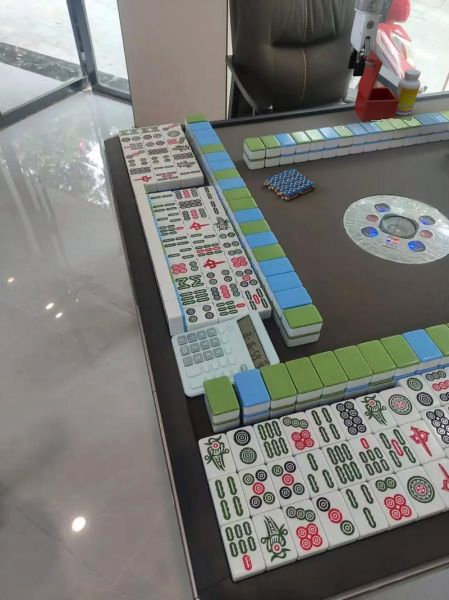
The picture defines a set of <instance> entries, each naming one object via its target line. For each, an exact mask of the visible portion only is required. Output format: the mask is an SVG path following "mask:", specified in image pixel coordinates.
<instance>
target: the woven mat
mask: <svg viewBox="0 0 449 600" xmlns="http://www.w3.org/2000/svg"><path fill="white" fill-rule="evenodd" d="M316 185H317V184H316V183H315V182H314V181H313V180H310V178H309V177H308V178H307V177H306V176H305V175H303V174H302V173H300V172H299V171H298V170H296V169H294V168H288V169H286V170H283V171H281V172H279V173H277V174H276V173H275V174H274V175H270V176H269V177H265V179H264V182H263V186H268V190H273V191H274V192H275V193H276V194H277V195H278V196H281V199H282V200H285V201H290V200H292V199H294V198H296V197H298V196H299V195H300V196H301V195H304V194H306V193H308V192H311V191H312V190H314V189H316Z"/></svg>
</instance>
